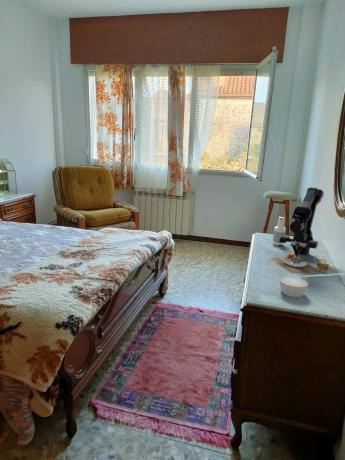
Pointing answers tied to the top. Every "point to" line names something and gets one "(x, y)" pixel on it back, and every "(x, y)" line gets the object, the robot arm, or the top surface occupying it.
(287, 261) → the flange plate
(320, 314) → the top surface
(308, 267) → the base board
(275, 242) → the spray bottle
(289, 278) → the ramekin
